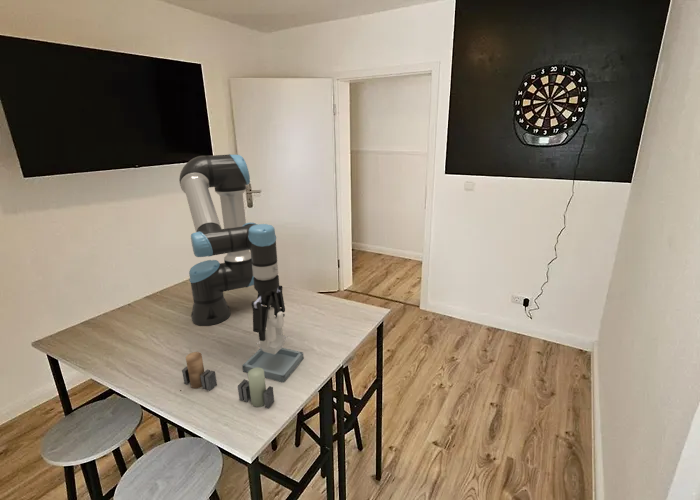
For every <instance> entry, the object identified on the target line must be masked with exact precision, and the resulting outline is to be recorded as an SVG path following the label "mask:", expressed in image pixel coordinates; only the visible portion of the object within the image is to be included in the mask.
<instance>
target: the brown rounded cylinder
mask: <svg viewBox="0 0 700 500" xmlns="http://www.w3.org/2000/svg"><path fill="white" fill-rule="evenodd" d="M185 361H186V366H187V368H188V373H189V379H190V383H189V384H190V388H191V389H196V390H197V389H201V388H202V383H201V377H200V375H201V374H202V373H203V372H205V366H204V361H203V355H202V353H201V352H199V351H194V352H190V353H188V354H187V355H186V356H185Z"/></svg>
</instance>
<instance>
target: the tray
mask: <svg viewBox="0 0 700 500" xmlns="http://www.w3.org/2000/svg"><path fill="white" fill-rule="evenodd" d="M303 360H304V352H303V351H299V350H295V349H290V348H287V347H286V348H285V347H282V348H281V349H280V350H279V351H278V352H277V353H276V354H275V355H274V354H270V353H267V352H263V351H262V349H261V348H260V347H259V349H258V350H257V351H256V352H255V353H254V354H252V355H251V356H250V357H249V358H248V360H247V361H245V362H244V363H243V364H242V372H243V373H246V374H248V372H249V371H250V370H251V369H253V368H262V369H263V370H264V376H265V379H267V380H272V381H277V382H279V383H280V382H281V383H285V382H286V381H287V380H288V378H289V377H290V376H291V375H292V373H293V372H294V371H295V370H296V369H297V367H298V366H299V365H300V364H301V362H302V361H303Z"/></svg>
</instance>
